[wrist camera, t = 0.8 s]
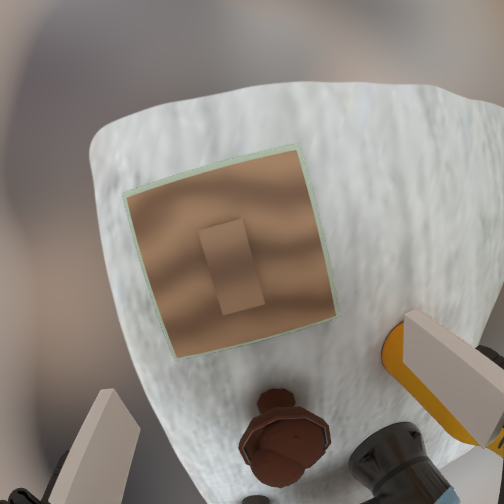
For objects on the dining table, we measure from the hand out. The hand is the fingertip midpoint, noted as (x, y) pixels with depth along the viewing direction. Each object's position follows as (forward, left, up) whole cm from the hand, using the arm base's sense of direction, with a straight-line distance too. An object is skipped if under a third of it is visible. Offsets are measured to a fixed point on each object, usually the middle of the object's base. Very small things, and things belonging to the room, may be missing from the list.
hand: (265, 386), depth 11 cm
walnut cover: (+3, +1, -22) cm, 23 cm away
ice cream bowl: (-19, +1, -23) cm, 30 cm away
